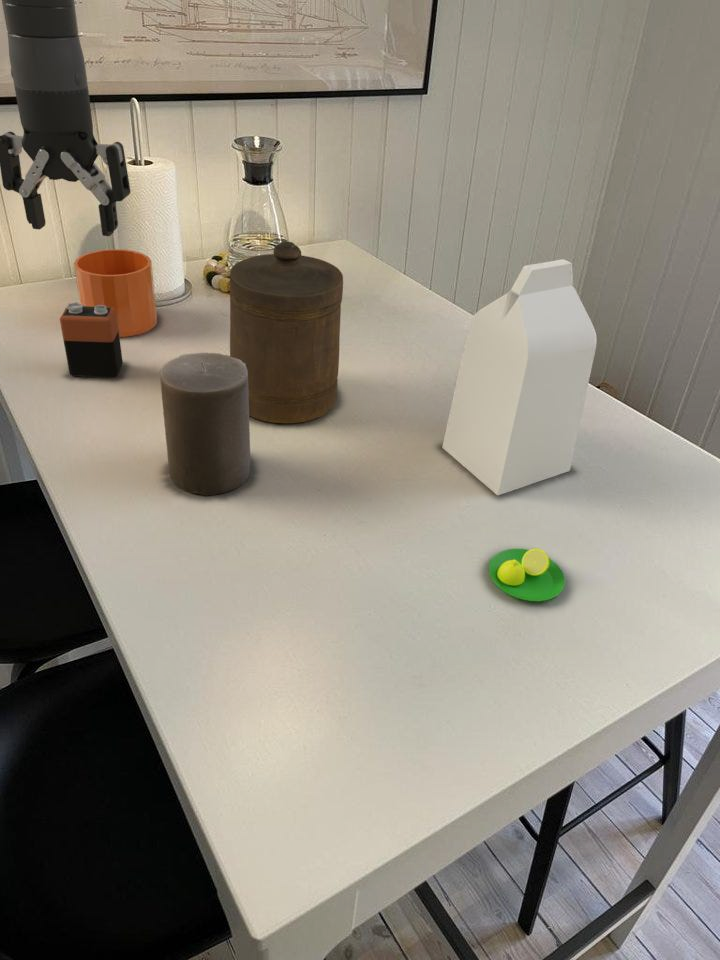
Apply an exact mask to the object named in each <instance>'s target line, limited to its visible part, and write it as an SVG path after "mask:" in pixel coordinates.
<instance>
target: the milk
mask: <svg viewBox="0 0 720 960" xmlns="http://www.w3.org/2000/svg"><path fill="white" fill-rule="evenodd" d="M573 273H574V272H573V263H572V262H570V261H569V260H566V259H565V258H563V259H557V260H551V261H544V262H539V263H532V264H527V265H523V267H522V269H521V271H520V273H519V274H518V276H517V278H516V279H515V282H514V284H513V285H512V287H511V289H510V290H509V291H508V292H506V293H505V294H503V295H502V296H500V297H497V299H495V300H493V301H492V302H490V303H489V304H487V305H485V306H483V307H482V308H481V309H479V310H477V312H475V314H473V316H472V317H471V318H470V321H469V323H468V326H467V327H468V328H467V332H466V336H465V341H464V346H463V350H462V355H461V359H460V365H459V368H458V374H457V377H456V383H455V386H454V392H453V395H452V396H453V397H452V401H451V405H450V411H449V415H448V419H447V423H446V428H445V433H444V437H443V442H442V447H441V449H443V450H444V451H445V452H447V453H448V454H449V455H450V456H451V457H452V458H453V459H455V460H456V461H457V462H458V463H459V464H460V465H462V466H463V467H464V468H465V469H466V470H468V472H470V474H471V475H473V476H474V477H475V478H477V480H479V481H480V483H482V484H484V485H485V486H486V487H487V488H488V489H489V490H490V491H491V492H492V493H494V494H495V495H496V496H501V495H503V494H507V493H510V492H512V491H515V490H519V489H521V488H524V487H527V486H530V485H533V484H536V483H539V482H542V481H545V480H547V479H550V478H553V477H556V476H559V475H562V474H564V473H567V472H571V467H572V463H573V458H574V454H575V449H576V444H577V439H578V434H579V430H580V425H581V420H582V415H583V412H584V406H585V401H586V396H587V392H588V387H589V382H590V379H591V374H592V369H593V363H594V359H595V354H596V349H597V342H598V339H597V333H596V330H595V327H594V324H593V322H592V320H591V318H590V316H589V314H588V312H587V309H586V308H585V306H584V304H583V302H582V300H581V298H580V296H579V294H578V292H577V290H576V287H574V286H573V285H574V277H573Z"/></svg>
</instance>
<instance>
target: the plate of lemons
mask: <svg viewBox="0 0 720 960" xmlns="http://www.w3.org/2000/svg"><path fill="white" fill-rule="evenodd" d="M488 572H489V576H490V578H491V580H492V582H493V583H494V584H495V585H496V587H498V588H499V589H500V590H501V591H502V592H504V593H506V594H507V595H510V596H512V597H514V598H516V599H520V600H524V601H530V602H543V601H548V600H551V599H554V598H556V597H557V596H559V595H560V594H561V593H562V592H563V590H564V588H565V583H566V579H565V578H566V577H565V574H564V572H563V570H562V569H561V567H560V566H559V565H558V564H557V563H556V562H555V561H554V560H553V559H551V558H550V557H549V556H548V554H547V553H546V552H545V551H544V550H542V549H540V548H536V547H535V548H531V549H527V548H510V549H509V548H508V549H505V550H502V551H500V552H498V553H496V554H495V555H494V556H493V557H492V558H491V559H490V562H489V564H488Z"/></svg>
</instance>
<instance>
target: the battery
mask: <svg viewBox="0 0 720 960" xmlns="http://www.w3.org/2000/svg"><path fill="white" fill-rule="evenodd" d="M59 324H60V328H61V334H62V338H63V345H64V351H65V358H66V361H67V362H66V363H67V368H68V372H69V375H70V376H71V377H92V378H93V377H95V378H97V377H98V378H117V377H118V376H119V374H120V371H121V370H122V366H123V364H124V361H123V360H124V359H123V353H122V346H121V339H120V338H121V337H119V330H118V322H117V315H116V309H115V308H113V307H106V306H104V305H97V306H95V307H94V306H83V304H81V303H80V302H77V301H76V302H69V303H68V304H67V305H66V307H65V308H64V311H63V312H62V314H61V315H60V317H59Z"/></svg>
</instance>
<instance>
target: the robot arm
mask: <svg viewBox="0 0 720 960" xmlns="http://www.w3.org/2000/svg"><path fill="white" fill-rule="evenodd" d="M1 5H2V10H3V16H4V22H5V27H6V28H5V29H6V31H7V40H8V57H9V64H10V74H11V75H10V76H11V78H12V80H13V81H12V82H13V86H14V91H15V99H16V104H17V109H18V114H19V119H20V125H21V127H22V129H23V135H16V133H14V132H13V131H10V130H9V131H7V132H4V133H2V134H0V174H1V182H2V187H3V188H4V190H6V191H13V192H16V193H17V194H19V196H21V197H22V201H23V207H24V211H25V212H24V213H25V217H26V221H27V222H28V224H29V225H31V227H32V229H33V230H41V229H43V228H44V227H46V216H45V211H44V205H43V200H42V194H41V193H39V192H38V190H39V189H40V187H41V186H42V184H43V182H44V180H45V179H46V178H48V180H49V181H51V180H52V181H57V180H63V181H67V182H70V183H76V182H78V181H79V182H80V183H81V184H82V186H83V187H84V188H85V189H86V190H87V191H90V193H92V195H93V197H95V199H96V200H97V201H98V203H100V204H98V212H99V221H100V229H101V235H102V236H103V237H111V236H112V235H113V234H114V233H115V231H116V229H118V226H119V221H118V212H117V202H123V200H125V199H126V198H127V197H128V196H129V195H131V186H130V180H129V179H130V178H129V173H128V167H127V160H126V155H125V149H124V145H123V143H121V142H120V141H115V142H113V143H112V144H108V143H106V144H104V143H98V141H97V140H96V138H95V135H94V124H93V123H94V122H93V117H92V116H93V115H92V108H91V101H90V93H89V84H88V76H87V69H86V61H85V56H84V52H83V48H82V45H81V39H80V35H79V26H78V19H77V18H78V17H77V10H76V3H75V0H1ZM23 150H24V152H25V153H26V154H27V155H28V157H29V158H30V159H31V161H32V164H31V165H30V167H29V169H28V171H27V172H26V174H25V178H23V176H22V168H21V159H20V155H21V153H22V152H23ZM99 156H100V157H101V159H102V162H103V163H104V165H106V166H107V167H108V174H109V179H110V184H111V185H110V184H109V182H108V181H107V180H106V176H105V174H104V173H103V172H102V171H101V169H100V168H99V167H98V165H97V164H96V163H95V162H96V160H97V158H98V157H99Z"/></svg>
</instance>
